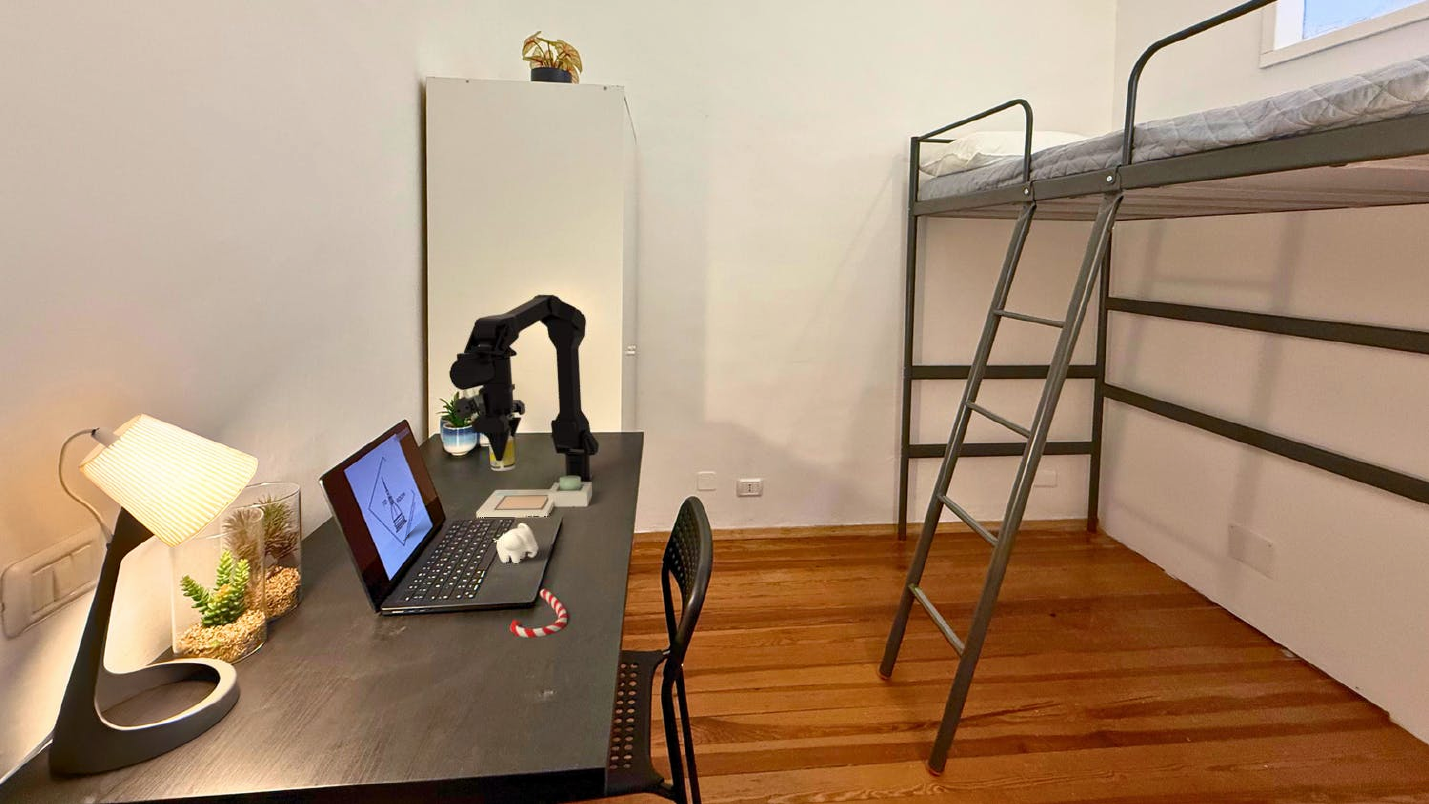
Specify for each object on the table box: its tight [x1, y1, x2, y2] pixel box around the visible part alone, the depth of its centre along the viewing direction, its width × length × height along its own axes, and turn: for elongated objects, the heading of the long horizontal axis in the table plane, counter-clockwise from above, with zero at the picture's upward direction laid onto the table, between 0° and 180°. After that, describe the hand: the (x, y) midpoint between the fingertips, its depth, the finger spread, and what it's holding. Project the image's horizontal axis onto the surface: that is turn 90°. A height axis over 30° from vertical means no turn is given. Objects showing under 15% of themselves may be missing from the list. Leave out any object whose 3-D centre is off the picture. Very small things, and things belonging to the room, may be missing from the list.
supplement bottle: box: [488, 426, 516, 472], centre depth 164 cm, size 5×5×8 cm
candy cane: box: [509, 588, 568, 638], centre depth 118 cm, size 8×1×15 cm
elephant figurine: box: [492, 522, 540, 564], centre depth 138 cm, size 7×8×6 cm
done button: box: [559, 475, 581, 491], centre depth 173 cm, size 4×4×2 cm
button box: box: [548, 481, 593, 508], centre depth 173 cm, size 8×8×3 cm
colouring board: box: [476, 488, 554, 519], centre depth 170 cm, size 16×14×1 cm
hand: (502, 457), depth 165 cm, fingers closed on supplement bottle, 5 cm apart
